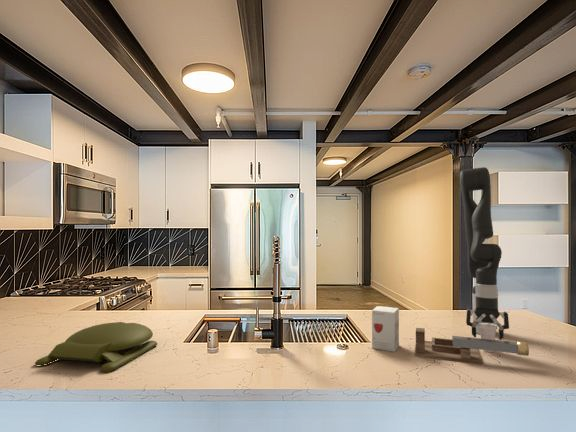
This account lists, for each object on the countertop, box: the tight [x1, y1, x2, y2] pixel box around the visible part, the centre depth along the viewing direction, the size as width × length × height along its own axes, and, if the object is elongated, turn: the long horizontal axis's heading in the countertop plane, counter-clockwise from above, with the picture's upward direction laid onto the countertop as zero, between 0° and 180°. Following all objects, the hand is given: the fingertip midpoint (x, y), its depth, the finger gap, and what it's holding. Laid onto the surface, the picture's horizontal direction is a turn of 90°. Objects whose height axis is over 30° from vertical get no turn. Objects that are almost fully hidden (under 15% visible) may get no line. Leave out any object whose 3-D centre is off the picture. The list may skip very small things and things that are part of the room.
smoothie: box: [478, 323, 498, 353], centre depth 137 cm, size 6×6×14 cm
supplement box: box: [371, 305, 400, 352], centre depth 142 cm, size 9×9×15 cm
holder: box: [414, 327, 483, 365], centre depth 135 cm, size 17×22×9 cm
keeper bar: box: [451, 335, 530, 357], centre depth 125 cm, size 4×23×4 cm, turn 68°
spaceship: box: [34, 321, 158, 373], centre depth 136 cm, size 35×31×10 cm
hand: (487, 338), depth 137 cm, fingers open, 8 cm apart
